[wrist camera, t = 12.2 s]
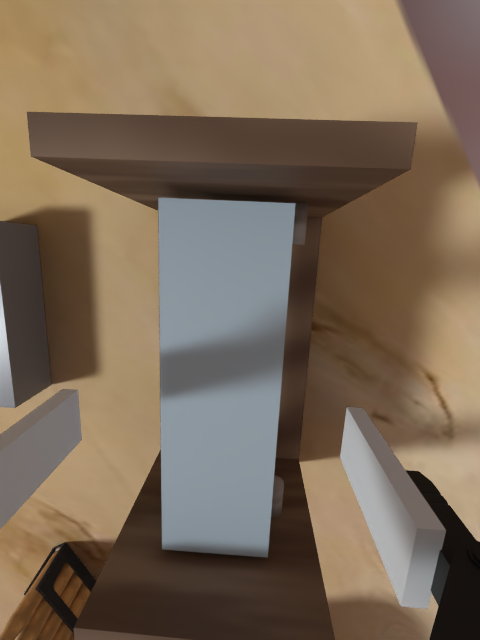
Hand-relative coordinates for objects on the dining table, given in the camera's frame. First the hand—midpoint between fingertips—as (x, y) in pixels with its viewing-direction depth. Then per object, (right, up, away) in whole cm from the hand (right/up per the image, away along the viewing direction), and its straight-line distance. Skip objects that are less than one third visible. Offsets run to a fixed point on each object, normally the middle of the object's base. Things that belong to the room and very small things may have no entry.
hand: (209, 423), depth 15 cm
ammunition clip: (-17, -26, +23) cm, 39 cm away
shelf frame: (+1, +3, +15) cm, 16 cm away
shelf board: (0, +1, +7) cm, 7 cm away
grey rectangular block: (-20, +6, +16) cm, 26 cm away
